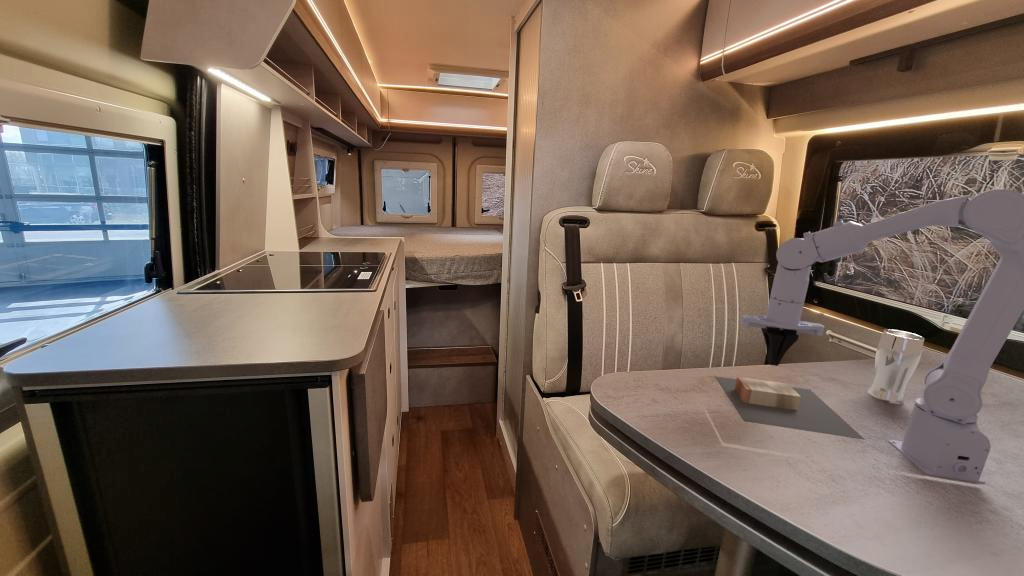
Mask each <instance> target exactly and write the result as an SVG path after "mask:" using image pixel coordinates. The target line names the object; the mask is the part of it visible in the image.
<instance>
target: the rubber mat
mask: <svg viewBox="0 0 1024 576" xmlns="http://www.w3.org/2000/svg"><path fill="white" fill-rule="evenodd" d="M715 379H716V381H717V382H718V384H719V385H720V386H721V388H722V390H723V391H724V393H725V394H726V396H727V397H728V399H729V400H730V402H731V404H732V405H733V406H734V408H735V410H736V411H737V412H738V415H740V417H741V418H742V420H743V421H744V422H748V423H755V424H760V425H761V424H762V425H767V426H768V425H769V426H774V427H780V428H788V429H794V430H801V431H805V432H806V431H807V432H808V431H809V432H813V433H821V434H827V435H833V436H840V437H847V438H853V439H860V440H865V438H864V437H863V435H861V434H860V433H859V432H858V431H857V430H855V429H854V428H853V427H852V426H851V425H850V424H849V423H847V421H845V420H844V419H843V418H842V417H841V416H840V415H839V414H838V413H837V412H835V410H834V409H832V408H831V407H830V405H828V404H827V403H826V402H824V400H822V399H821V398H820V397H819V396H818V395H817V394H816V393H815V392H814V391H812V389H811V388H810V389H808V388H801V387H795V386H791V387H792V388H793V389H794V390H795V391H796V392H797V393H798V394H799V395H800V396H801V398H800V402H799V406H798V410H792V409H785V408H778V407H771V406H764V405H757V404H751V403H744V402H743V401H742V400H741V398H740V397H739V395H738V394H737V392H736V391H735V390H734V389H735V384H736V379H737V378H728V377H721V376H715Z"/></svg>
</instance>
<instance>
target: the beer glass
mask: <svg viewBox="0 0 1024 576" xmlns="http://www.w3.org/2000/svg"><path fill="white" fill-rule="evenodd" d="M924 342H925V337H923V336H921V335H918V334H916V333H912V332H909V331H904V330H898V329H890V328H889V329H888V328H886V329H883V332H882V334H881V337H880V339H879V341H878V344H877V345H878V346H877V347H876V352H875V359H874V361H875V363H874V377H873V380H872V382H871V383H872V384H871V385H870V387H869V388H868V390H867V393H868V394H869V395H870V396H871V397H873V398H875V399H878V400H880V401H882V402H884V403H885V404H890V405H894V406H895V405H897V406H900V405H903V404H904V402H905V399H904V398H905V389H906V387H907V385H908V383H909V381H910V378H912V376H913V374H914V373H915V370H916V369H917V367H918V365H919V362H920V360H921V357H922V354H923V353H922V352H923V350H924V349H923V348H924Z"/></svg>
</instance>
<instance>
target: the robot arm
mask: <svg viewBox="0 0 1024 576" xmlns="http://www.w3.org/2000/svg"><path fill="white" fill-rule="evenodd" d="M971 196H972V194H967V195H962V196H957V197H951V198H946V199H942V200H937V201H933V202H930V203H927V204H924V205H921V206H918V207H915V208H911V209H908V210H906V211H903V212H900V213H897V214H894V215H891V216H888V217H884V218H881V219H879V220H875V221H872V222H869V223H866V224H861V223H858V222H855V221H852V220H850V221H846V222H844V221H843V220H839V221H836V222H834V223H833V226H831V227H828V228H824V229H822V230H818V231H815V232H811V231H808V232H803V237H801V238H799V237H792V238H789V239H788V240H785V241H784V242H783V243H781V244H780V245H779V246H778V247H777V250H776V252H775V253H776V255H775V256H776V261H777V262H778V263H777V266H776V270H775V274H774V277H773V282H772V286H771V291H770V296H769V301H768V305H767V310H766V313H765V314H766V315H745V314H741V316H740V319H739V320H740V321H739V324H740V326H741V327H743V328H748V327H751V328H757V329H758V328H760V329H761V332H762V335H763V339H764V341H765V342H764V343H765V348H766V362H767V363H768V365H770V366H776V367H778V366H779V364H780V362H781V360H782V359H783V357H784V356H785V355H786V353H787V352H788V350H789V349H790V348H791V347H792V346H793V345H794V344H795V343H796V342H798V341H799V337H800V336H799V335H798V334H797V333H803V334H810V335H816V336H820V337H823V336H824V332H825V328H826V326H825V325H822V324H821V323H816V322H809V321H804V320H801V316H802V313H803V309H804V305H805V300H806V296H807V292H808V288H809V283H810V275H811V270H812V265H814V264H815V263H816V262H819V263H825V262H829V261H832V260H837V259H839V258H843V257H847V256H851V255H856V254H859V253H862V252H864V251H865V249H866V248H867V246H868V245H869V243H871V242H873V241H876V240H881V239H884V238H887V237H892V236H896V235H900V234H904V233H908V232H912V231H915V230H919V229H922V228H927V227H933V226H936V227H949V228H950V227H951V228H958V227H959V221H962V222H963V224H964V225H965V226H966V227H967V228H968V229H971V230H972V231H974V232H975V233H976V234H978V235H980V236H982V237H984V238H985V239H986V240H987V242H988V244H989V245H990V246H991V247H992V248H993V249H994V251H995V252H996V253H997V255H998V256H999V260H998V261H997V264H996V266H995V268H994V269H993V271H992V273H991V274H990V277H989V278H988V280H987V282H986V284H985V286H984V288H983V290H982V292H981V293H980V295H979V297H978V298H977V300H976V303H975V304H974V306H973V308H972V310H971V311H970V314H969V315H968V317H967V319H966V321H965V323H964V325H963V327H962V328H961V330H960V332H959V334H958V336H957V338H956V339H955V341H954V343H953V345H952V346H951V348H950V350H949V352H948V353H947V354H946V355H945V356H944V358H943V360H942V361H941V363H940V364H939V365H938V366H936V367H934V368H932V369H931V370H929V371H928V372H927V373H926V375H925V377H924V385H925V387H924V389H923V395H922V396H920V397H918V398H916V399H915V401H914V405H913V407H912V411H911V413H910V417H909V421H908V423H907V426H906V430H905V433H904V436H903V439H902V440H896V439H888V440H887V442H888V443H890V445H891V446H893V447H894V448H895V449H896V450H898V451H899V452H900V453H901V454H902V455H903V456H904V457H905V458H907V459H908V460H910V462H912V463H913V464H914V465H915V466H916V467H917V468H919V469H920V470H921V471H922V472H923V473H925V474H927V475H930V476H931V475H932V476H936V477H943V478H949V479H955V480H962V481H967V482H973V483H979V484H980V483H981V484H985V483H986V480H985V479H983V478H982V477H981V476H982V473H983V470H984V468H985V464H986V462H987V459H988V457H989V454H990V452H991V442H990V439H989V438H988V436H987V435H986V434H985V433H983V432H982V431H981V429H980V428H979V426H978V420H979V417H978V414H979V413H980V412H981V410H982V408H983V397H982V391H983V388H984V386H985V384H986V382H987V379H988V378H989V377H988V376H989V373H990V371H991V367H992V365H993V363H994V361H995V360H996V358H997V357H998V355H999V352H1000V351H1001V349H1002V348H1003V346H1004V344H1005V342H1006V341H1007V339H1008V337H1009V336H1010V334H1011V333H1012V330H1013V329H1014V327H1015V326H1016V324H1017V321H1019V318H1020V317H1021V315H1022V313H1023V312H1024V194H1023V193H1021V192H1020V191H1017V190H1014V189H1011V188H1010V189H1009V188H992V189H989V190H986V191H985V190H984V191H983V192H980V193H977V194H976V195H974V196H973V197H972V198H970V197H971ZM969 198H970V199H969ZM968 199H969V200H968ZM967 200H968V201H967Z"/></svg>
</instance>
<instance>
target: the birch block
mask: <svg viewBox="0 0 1024 576" xmlns="http://www.w3.org/2000/svg"><path fill="white" fill-rule="evenodd" d="M735 379H736V384H735V389H734V390H735V391H736V392H737V394H738V395H739V397H740V398H741V400H742V401H743V402H744V403H751V404H757V405H764V406H771V407H778V408H785V409H792V410H798V406H799V402H800V398H801V396H800V395H799V394H798V393H797V392H796V391H795V390H794V389H793V388H792V387H793V386H791V385H789V383H786V382H785V383H784V382H778V381H772V380H771V381H770V380H764V379H756V378H750V377H741V376H737V377H736V378H735Z"/></svg>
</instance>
